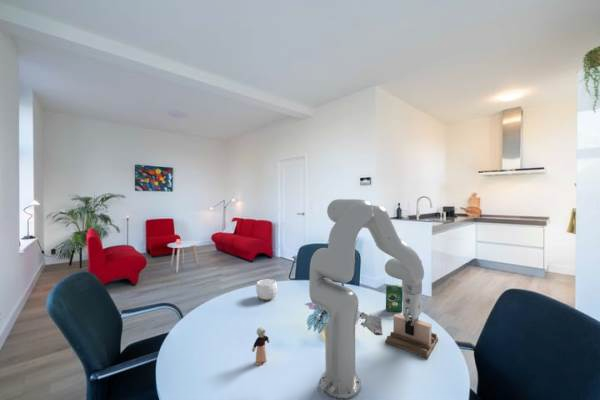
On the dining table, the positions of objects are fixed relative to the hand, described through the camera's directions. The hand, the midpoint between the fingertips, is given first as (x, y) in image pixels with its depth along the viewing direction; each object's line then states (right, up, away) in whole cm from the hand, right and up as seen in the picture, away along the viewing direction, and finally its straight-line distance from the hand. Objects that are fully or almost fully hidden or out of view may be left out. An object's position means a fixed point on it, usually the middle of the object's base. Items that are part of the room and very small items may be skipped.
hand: (411, 330), depth 105 cm
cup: (-66, -4, +45) cm, 80 cm away
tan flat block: (0, -3, 0) cm, 3 cm away
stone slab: (-13, -5, +15) cm, 20 cm away
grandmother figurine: (-60, -6, -11) cm, 61 cm away
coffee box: (+3, -4, +28) cm, 28 cm away
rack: (0, -4, 0) cm, 4 cm away
